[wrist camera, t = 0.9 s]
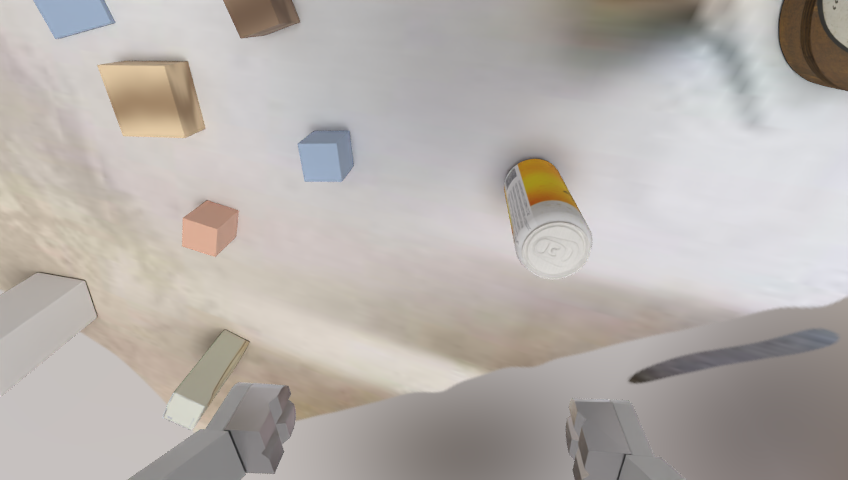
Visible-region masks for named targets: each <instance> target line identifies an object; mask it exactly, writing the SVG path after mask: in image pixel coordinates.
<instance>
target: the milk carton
mask: <svg viewBox="0 0 848 480" xmlns="http://www.w3.org/2000/svg"><path fill="white" fill-rule="evenodd" d="M96 318H97V315H96V312H95V309H94V306H93V303H92V300H91V297H90V294H89V291H88V288H87V285H86V283H85V281H83V280H78V279H72V278H66V277H61V276H55V275H49V274H44V273H36V274H34V275H32V276H31V277H29V278H27V279H26V280H24V281H22V282H21V283H19V284H17V285H16V286H14V287H13V288H11V289H9V290H8V291H6V292H4V293H3V294H1V295H0V397H1V396H3V395H4V394H5V393H6V392H7V391H9V390H10V389H11V388H12V387H13V386H15V385H16V384H17V383H18V382H20V381H21V380H22V379H23V378H24V377H26V376H27V375H28V374H29V373H30V372H32V371H33V370H34V369H35V368H36V367H38V366H39V365H40V364H41V363H43V362H44V361H45V360H46V359H47V358H49V357H50V356H51V355H52V354H53V353H55V352H56V351H57V350H58V349H59V348H61V347H62V346H63V345H64V344H66V343H67V342H68V341H69V340H70V339H72V338H73V337H74V336H75V335H76V334H78V333H79V332H80V331H81V330H83V329H84V328H85V327H86V326H87V325H89V324H90V323H91V322H92V321H93V320H95V319H96Z"/></svg>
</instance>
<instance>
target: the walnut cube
mask: <svg viewBox="0 0 848 480" xmlns="http://www.w3.org/2000/svg"><path fill="white" fill-rule="evenodd" d="M223 1H224V3H225V5H226V8H227V10H228V12H229V14H230V16H231V18H232V21H233V23H234V25H235V27H236V29H237V31H238V34H239V36H240V38H248V37H256V36H264V35H267V34H270V33H273V32H275V31H278V30H281V29H283V28H286V27H289V26H291V25H294V24H297V23H299V22H300V20H299V17H298V15H297V12H296V10H295V7H294V5H293V2H292V0H223Z"/></svg>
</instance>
